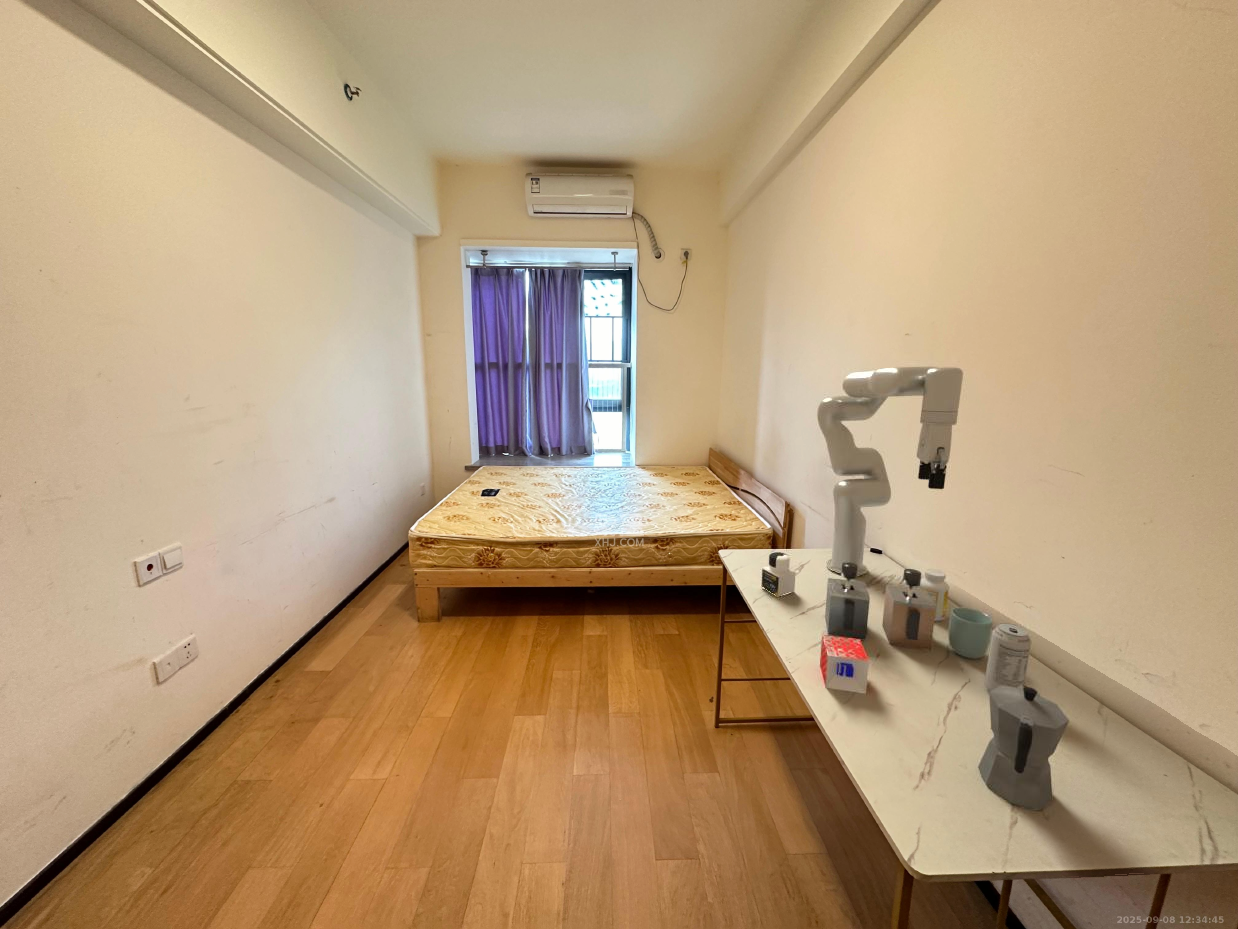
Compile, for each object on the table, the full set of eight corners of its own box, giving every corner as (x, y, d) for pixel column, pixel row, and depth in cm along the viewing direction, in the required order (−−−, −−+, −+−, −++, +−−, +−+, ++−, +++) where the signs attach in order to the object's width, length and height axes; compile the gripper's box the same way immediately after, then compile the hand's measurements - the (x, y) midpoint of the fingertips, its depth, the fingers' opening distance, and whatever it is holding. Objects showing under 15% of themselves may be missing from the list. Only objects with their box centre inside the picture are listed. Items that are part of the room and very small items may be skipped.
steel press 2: (882, 625, 120) (886, 584, 118) (920, 631, 117) (925, 589, 115) (890, 647, 111) (895, 603, 109) (932, 654, 108) (938, 609, 106)
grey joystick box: (825, 617, 125) (827, 577, 123) (860, 622, 122) (864, 582, 120) (828, 637, 116) (831, 595, 113) (866, 643, 113) (870, 600, 110)
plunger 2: (889, 621, 118) (894, 565, 115) (917, 625, 116) (924, 568, 113) (894, 634, 112) (900, 575, 109) (924, 638, 110) (931, 579, 107)
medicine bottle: (760, 588, 143) (762, 552, 140) (778, 583, 146) (779, 548, 143) (777, 598, 136) (779, 561, 134) (795, 592, 139) (797, 556, 137)
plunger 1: (830, 612, 123) (834, 558, 120) (856, 616, 121) (861, 561, 118) (833, 625, 117) (837, 568, 114) (860, 629, 115) (865, 571, 112)
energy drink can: (1017, 689, 95) (1028, 625, 92) (1024, 707, 90) (1036, 640, 87) (981, 680, 98) (991, 618, 95) (986, 697, 93) (996, 632, 90)
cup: (994, 665, 103) (1000, 625, 101) (956, 661, 105) (961, 622, 103) (975, 645, 111) (980, 608, 109) (939, 642, 112) (944, 605, 110)
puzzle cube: (857, 670, 103) (860, 639, 101) (865, 694, 96) (869, 660, 94) (819, 665, 105) (821, 634, 104) (825, 687, 98) (827, 655, 96)
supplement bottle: (936, 609, 127) (941, 567, 125) (950, 622, 121) (956, 578, 118) (911, 608, 128) (915, 566, 126) (924, 621, 122) (929, 577, 119)
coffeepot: (981, 745, 82) (995, 656, 78) (1052, 775, 75) (1071, 680, 72) (970, 804, 71) (986, 705, 67) (1053, 845, 65) (1075, 738, 61)
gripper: (912, 414, 122) (905, 475, 125) (930, 421, 106) (922, 491, 110) (945, 414, 119) (937, 477, 123) (969, 422, 103) (958, 493, 107)
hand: (930, 483), depth 116 cm, fingers open, 9 cm apart
